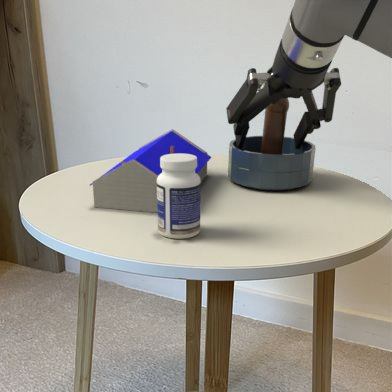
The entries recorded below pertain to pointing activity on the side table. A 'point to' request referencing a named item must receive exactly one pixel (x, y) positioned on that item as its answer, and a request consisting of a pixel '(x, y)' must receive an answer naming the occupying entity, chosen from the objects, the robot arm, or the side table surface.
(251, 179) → the bowl
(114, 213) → the side table surface
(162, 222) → the pill bottle
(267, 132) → the brown cylinder
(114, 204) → the toy house model
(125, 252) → the side table surface
